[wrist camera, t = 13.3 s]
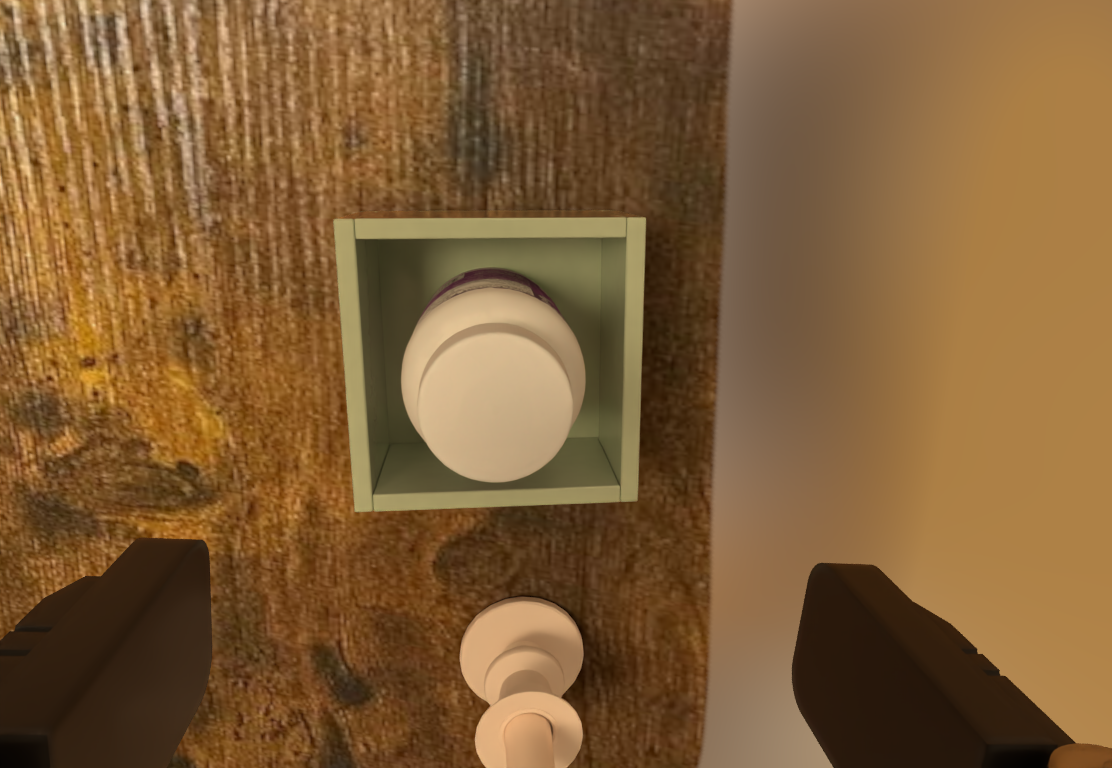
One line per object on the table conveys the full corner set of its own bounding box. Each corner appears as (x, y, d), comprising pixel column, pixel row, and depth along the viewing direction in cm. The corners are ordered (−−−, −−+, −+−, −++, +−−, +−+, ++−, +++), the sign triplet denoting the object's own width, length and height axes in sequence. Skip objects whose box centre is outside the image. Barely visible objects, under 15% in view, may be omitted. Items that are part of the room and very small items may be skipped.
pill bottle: (571, 394, 29) (613, 494, 20) (432, 415, 29) (410, 527, 20) (552, 253, 28) (588, 291, 19) (406, 274, 28) (369, 323, 18)
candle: (460, 705, 33) (452, 932, 23) (458, 597, 32) (449, 788, 22) (580, 699, 34) (622, 919, 24) (584, 593, 32) (629, 779, 22)
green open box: (376, 452, 30) (354, 513, 25) (361, 210, 28) (332, 218, 22) (610, 445, 31) (638, 501, 25) (615, 209, 28) (646, 217, 23)
